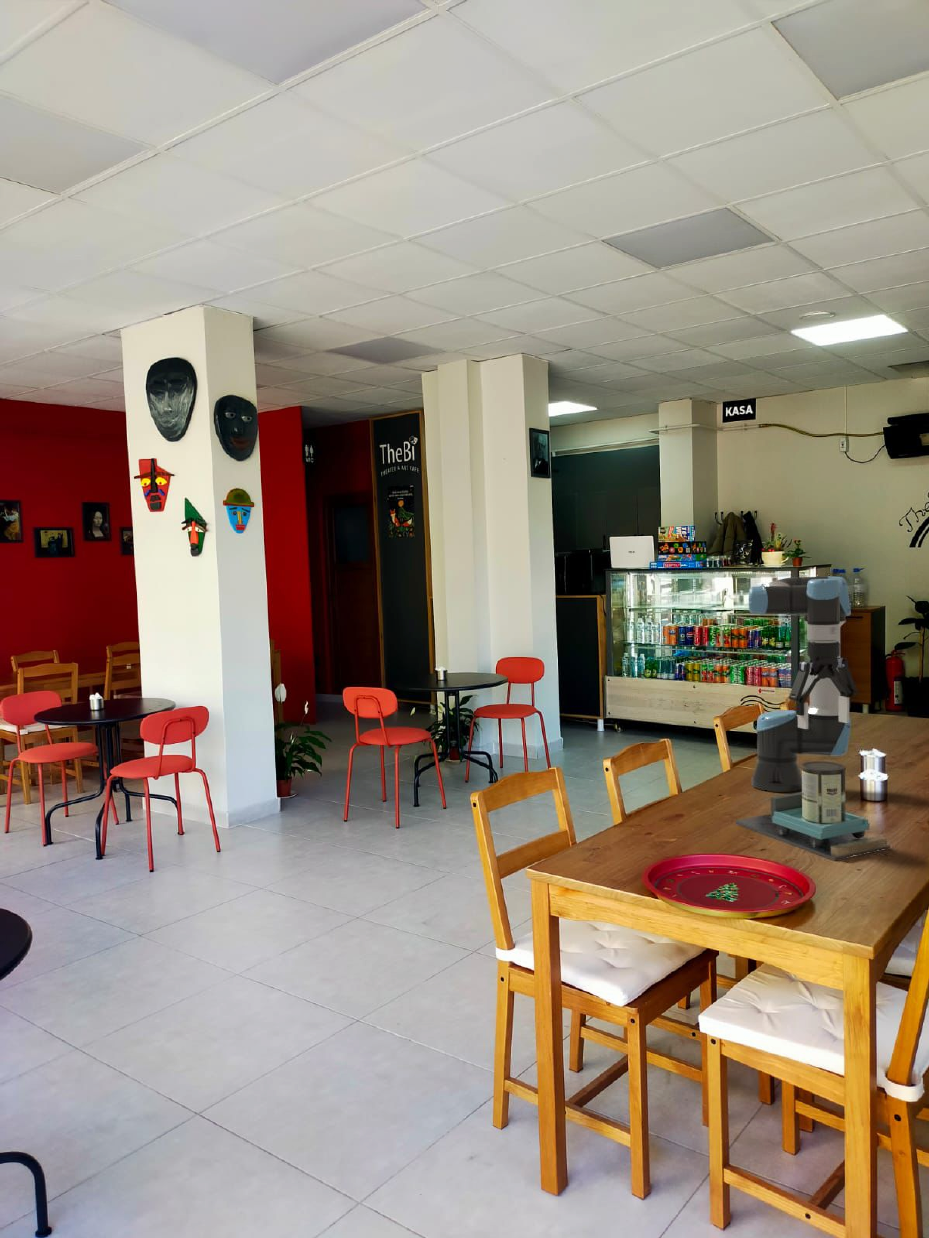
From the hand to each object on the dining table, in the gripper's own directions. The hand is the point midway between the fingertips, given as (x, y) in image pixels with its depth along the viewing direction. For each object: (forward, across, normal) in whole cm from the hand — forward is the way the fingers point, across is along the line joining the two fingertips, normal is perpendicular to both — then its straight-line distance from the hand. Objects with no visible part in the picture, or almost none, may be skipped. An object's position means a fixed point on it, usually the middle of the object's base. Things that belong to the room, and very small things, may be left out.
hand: (823, 725), depth 223 cm
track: (+29, -2, +3) cm, 29 cm away
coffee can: (+24, -2, -2) cm, 24 cm away
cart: (+28, -2, 0) cm, 28 cm away
